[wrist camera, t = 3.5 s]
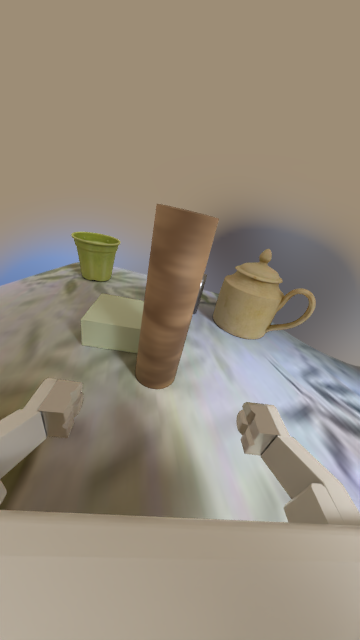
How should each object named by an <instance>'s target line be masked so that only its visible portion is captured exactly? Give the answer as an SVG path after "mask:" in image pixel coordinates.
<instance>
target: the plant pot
mask: <svg viewBox="0 0 360 640" xmlns="http://www.w3.org/2000/svg"><path fill="white" fill-rule="evenodd" d="M72 237H73V238H74V241H75V244H76V246H77V250H78V255H79V261H80V266H81V272H82V276H83V277H84V278H86V279H88V280H97V281H107V280H109V279H110V278H111V274H112V269H113V263H114V259H115V253H116V251H117V249H118V245H119V244H120V241H119V240H118V239H116V238H114V237H111V236H107V235H103V234H97V233H90V232H74V233H72Z"/></svg>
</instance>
